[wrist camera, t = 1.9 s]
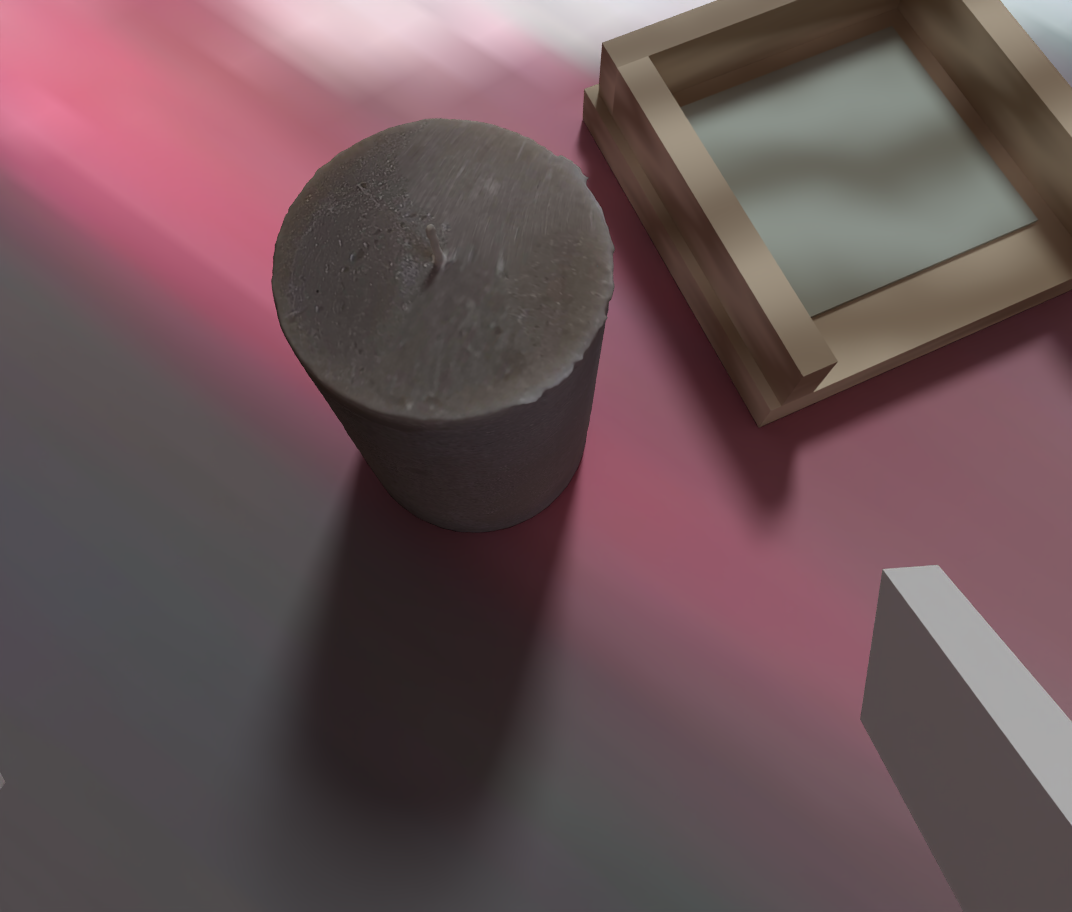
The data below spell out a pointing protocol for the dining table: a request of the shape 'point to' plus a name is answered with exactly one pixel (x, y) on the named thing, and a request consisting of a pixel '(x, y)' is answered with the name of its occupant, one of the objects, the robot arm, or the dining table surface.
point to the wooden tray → (841, 179)
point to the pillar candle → (451, 314)
